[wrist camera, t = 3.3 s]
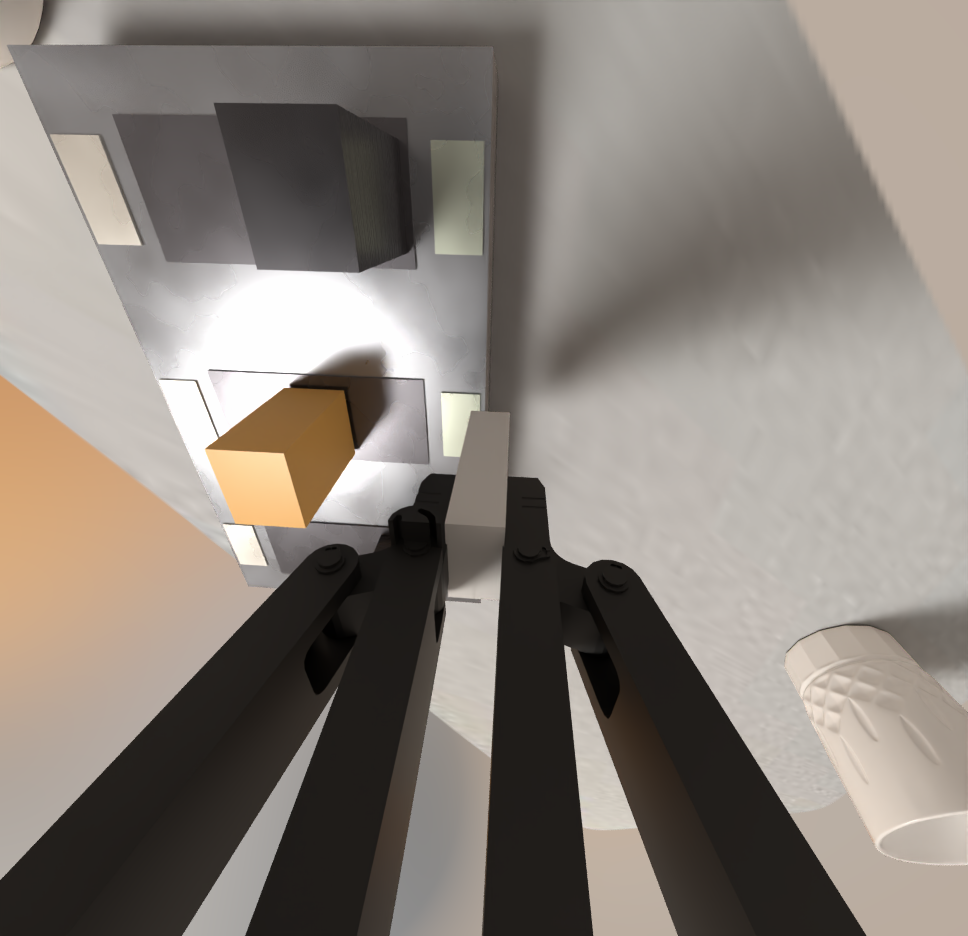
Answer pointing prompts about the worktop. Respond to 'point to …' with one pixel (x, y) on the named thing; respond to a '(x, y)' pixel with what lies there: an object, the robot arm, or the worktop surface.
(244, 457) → the toggle
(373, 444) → the panel
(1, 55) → the mug
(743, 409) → the worktop surface
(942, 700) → the white cup
